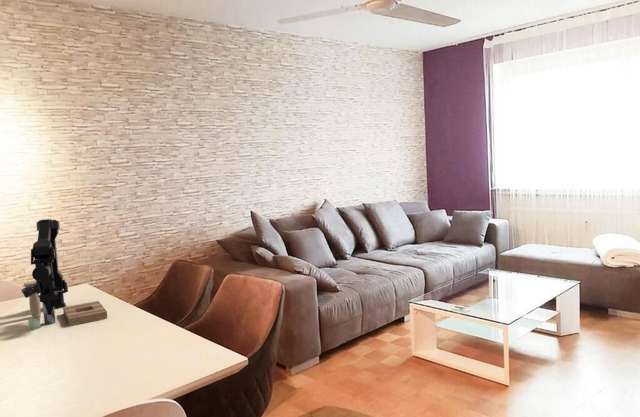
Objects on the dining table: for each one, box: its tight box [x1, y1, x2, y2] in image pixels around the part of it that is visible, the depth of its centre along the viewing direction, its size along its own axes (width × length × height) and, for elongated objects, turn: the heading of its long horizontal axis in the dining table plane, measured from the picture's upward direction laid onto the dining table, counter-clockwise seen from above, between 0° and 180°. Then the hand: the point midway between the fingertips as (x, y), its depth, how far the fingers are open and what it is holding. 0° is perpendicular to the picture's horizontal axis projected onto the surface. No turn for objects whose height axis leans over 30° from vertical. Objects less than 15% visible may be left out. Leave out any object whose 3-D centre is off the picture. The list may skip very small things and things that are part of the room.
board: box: [62, 300, 108, 327], centre depth 203 cm, size 20×14×3 cm
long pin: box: [41, 302, 57, 326], centre depth 196 cm, size 4×4×10 cm
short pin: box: [27, 316, 42, 331], centre depth 191 cm, size 4×4×4 cm
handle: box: [23, 280, 42, 318], centre depth 205 cm, size 5×6×15 cm
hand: (49, 313), depth 196 cm, fingers closed on long pin, 4 cm apart
